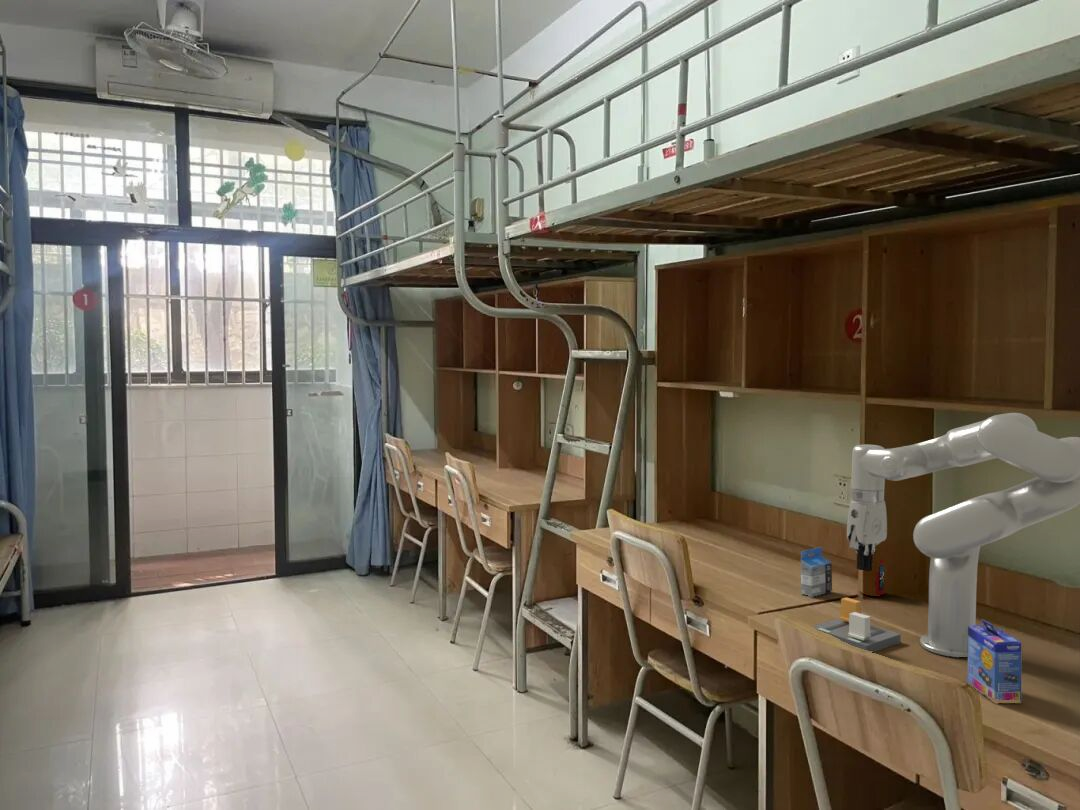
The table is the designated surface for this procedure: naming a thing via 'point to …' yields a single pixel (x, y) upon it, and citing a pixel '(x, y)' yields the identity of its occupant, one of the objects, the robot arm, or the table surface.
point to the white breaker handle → (859, 626)
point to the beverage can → (879, 580)
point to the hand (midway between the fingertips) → (864, 569)
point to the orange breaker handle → (849, 608)
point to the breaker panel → (875, 643)
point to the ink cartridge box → (994, 662)
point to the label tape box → (815, 573)
